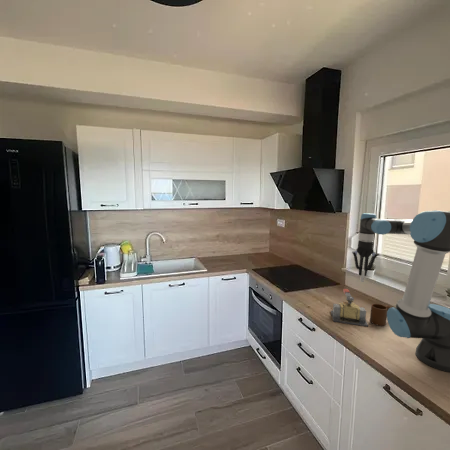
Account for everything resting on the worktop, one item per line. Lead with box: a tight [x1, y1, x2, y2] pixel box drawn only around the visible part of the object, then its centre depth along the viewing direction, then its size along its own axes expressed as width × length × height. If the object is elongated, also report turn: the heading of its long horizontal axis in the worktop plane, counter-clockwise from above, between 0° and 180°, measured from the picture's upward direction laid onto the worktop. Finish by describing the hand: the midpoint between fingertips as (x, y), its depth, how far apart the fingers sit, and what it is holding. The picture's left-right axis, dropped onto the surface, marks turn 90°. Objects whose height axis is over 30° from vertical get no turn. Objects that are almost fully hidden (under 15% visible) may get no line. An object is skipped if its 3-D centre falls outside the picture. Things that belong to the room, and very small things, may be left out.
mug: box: [369, 303, 391, 327], centre depth 140 cm, size 12×8×9 cm, turn 111°
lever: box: [342, 288, 355, 303], centre depth 148 cm, size 16×4×2 cm, turn 164°
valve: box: [330, 301, 369, 328], centre depth 143 cm, size 12×17×10 cm
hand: (361, 280), depth 147 cm, fingers closed
